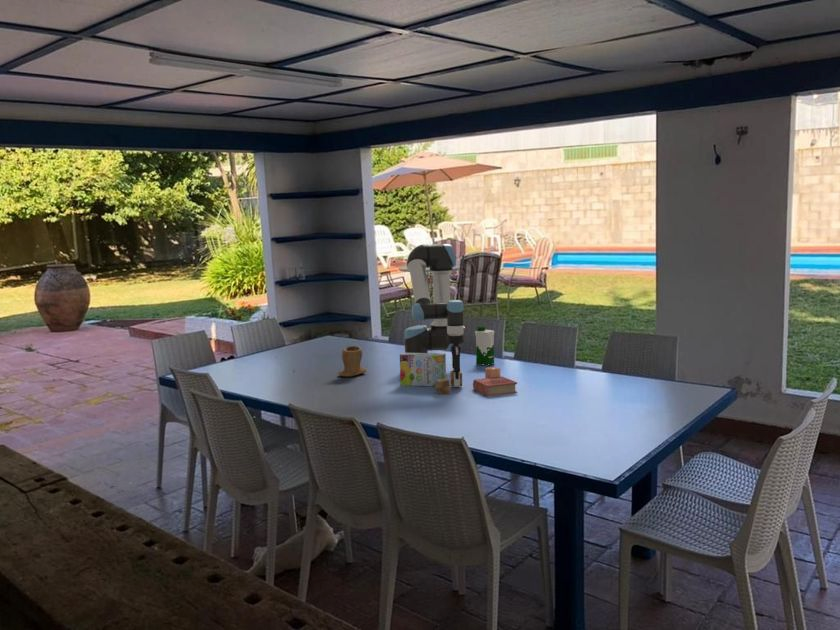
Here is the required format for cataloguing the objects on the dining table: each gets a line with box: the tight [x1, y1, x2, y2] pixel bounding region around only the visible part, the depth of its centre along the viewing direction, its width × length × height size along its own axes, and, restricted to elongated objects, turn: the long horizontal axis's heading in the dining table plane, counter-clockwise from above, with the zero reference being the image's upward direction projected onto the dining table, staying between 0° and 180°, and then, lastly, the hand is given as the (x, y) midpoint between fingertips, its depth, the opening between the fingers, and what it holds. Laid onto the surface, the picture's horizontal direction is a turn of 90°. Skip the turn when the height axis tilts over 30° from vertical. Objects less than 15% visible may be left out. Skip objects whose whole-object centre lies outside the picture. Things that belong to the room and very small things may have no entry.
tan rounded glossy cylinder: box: [484, 366, 501, 378], centre depth 334 cm, size 7×7×8 cm
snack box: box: [399, 352, 447, 387], centre depth 339 cm, size 21×6×15 cm, turn 74°
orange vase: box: [337, 345, 368, 378], centre depth 365 cm, size 15×12×15 cm
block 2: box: [449, 370, 463, 387], centre depth 332 cm, size 5×5×6 cm
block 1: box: [435, 378, 451, 396], centre depth 322 cm, size 5×5×6 cm
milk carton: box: [474, 325, 495, 366], centre depth 384 cm, size 9×9×20 cm
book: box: [472, 375, 518, 397], centre depth 323 cm, size 14×15×5 cm
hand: (456, 384), depth 333 cm, fingers closed on block 2, 5 cm apart
